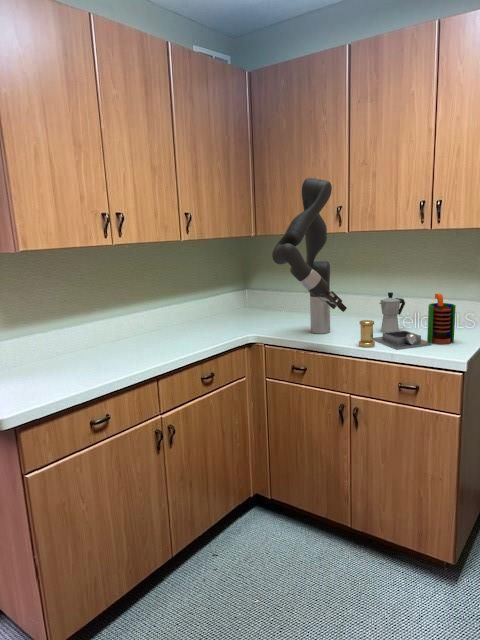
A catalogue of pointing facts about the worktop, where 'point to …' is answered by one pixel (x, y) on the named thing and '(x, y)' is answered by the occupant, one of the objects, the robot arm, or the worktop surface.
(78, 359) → the worktop surface
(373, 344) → the gold tall waisted piece
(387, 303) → the coffee maker
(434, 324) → the motor
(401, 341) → the coupling base
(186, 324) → the worktop surface
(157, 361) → the worktop surface
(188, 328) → the worktop surface
